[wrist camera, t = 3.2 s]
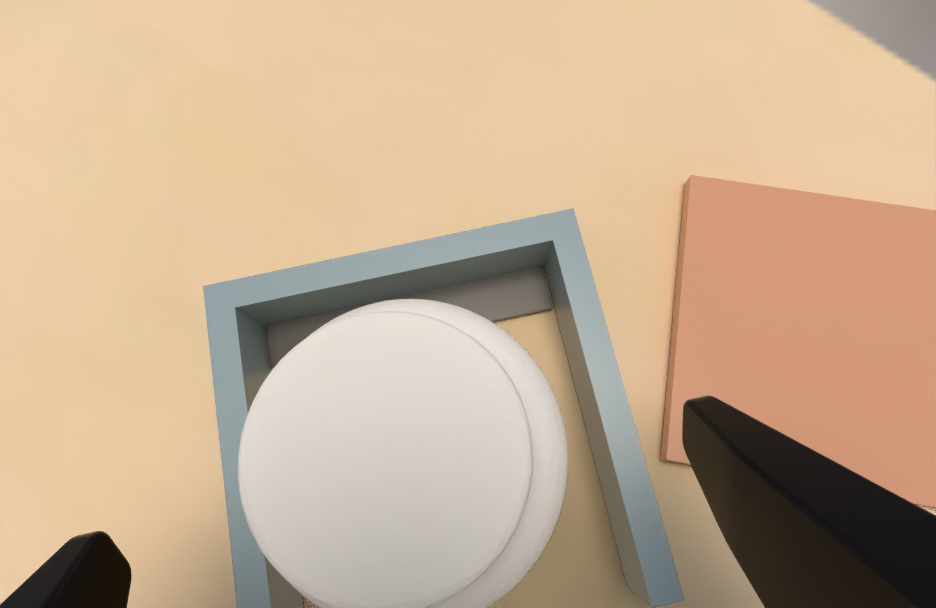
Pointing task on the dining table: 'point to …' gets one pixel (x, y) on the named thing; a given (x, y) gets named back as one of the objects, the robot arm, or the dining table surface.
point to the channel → (464, 285)
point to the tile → (810, 325)
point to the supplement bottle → (404, 460)
